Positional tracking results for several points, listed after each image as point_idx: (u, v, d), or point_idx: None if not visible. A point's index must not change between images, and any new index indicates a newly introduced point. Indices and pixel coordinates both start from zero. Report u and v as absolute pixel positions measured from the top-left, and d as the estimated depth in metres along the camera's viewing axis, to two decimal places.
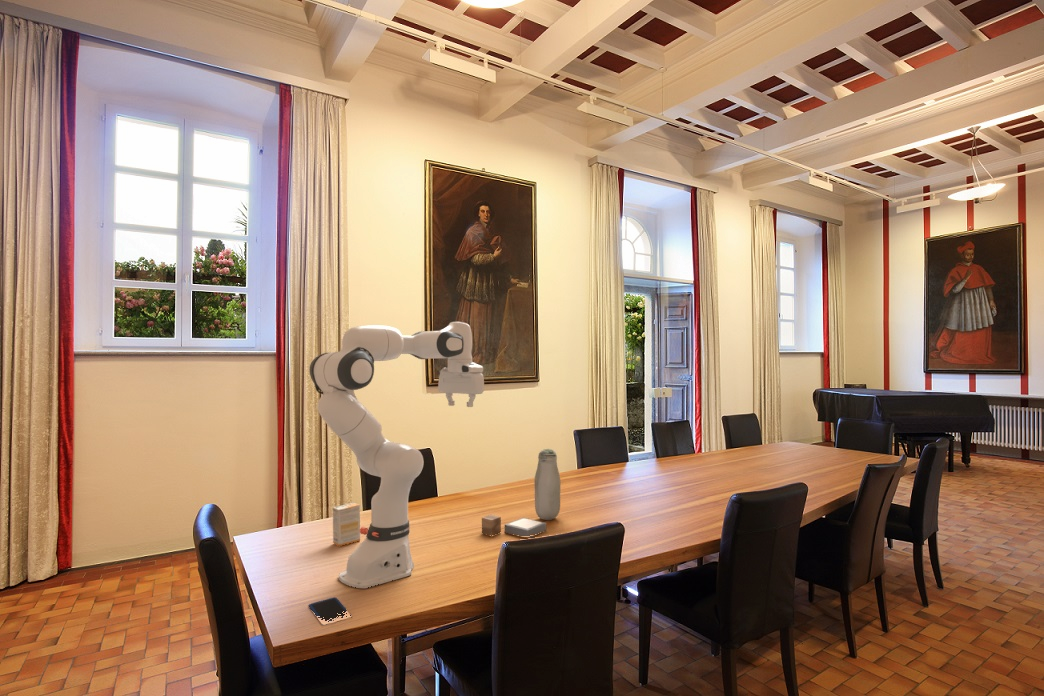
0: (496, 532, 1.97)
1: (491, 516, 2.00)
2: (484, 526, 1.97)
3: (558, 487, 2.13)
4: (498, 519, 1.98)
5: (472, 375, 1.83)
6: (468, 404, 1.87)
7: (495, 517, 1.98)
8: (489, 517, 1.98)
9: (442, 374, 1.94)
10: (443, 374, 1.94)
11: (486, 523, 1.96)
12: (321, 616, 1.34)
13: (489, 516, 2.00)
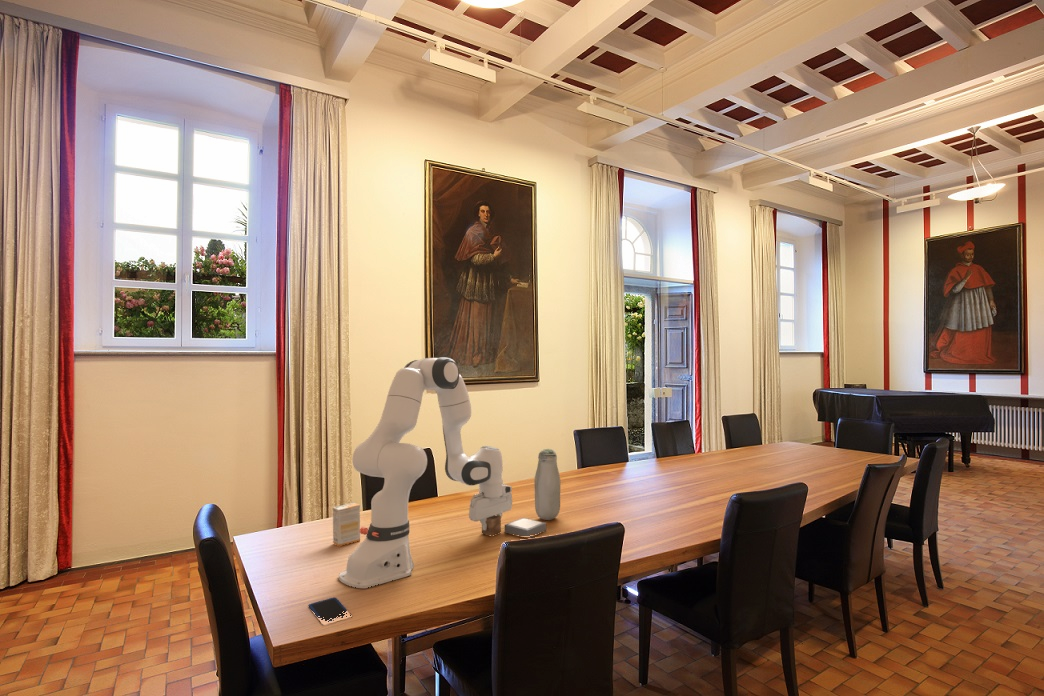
0: (496, 532, 1.97)
1: None
2: None
3: (558, 487, 2.13)
4: (498, 519, 1.98)
5: (510, 493, 2.04)
6: None
7: (495, 517, 1.98)
8: (489, 517, 1.98)
9: (480, 501, 1.92)
10: (481, 501, 1.92)
11: (486, 522, 1.96)
12: (321, 616, 1.34)
13: None
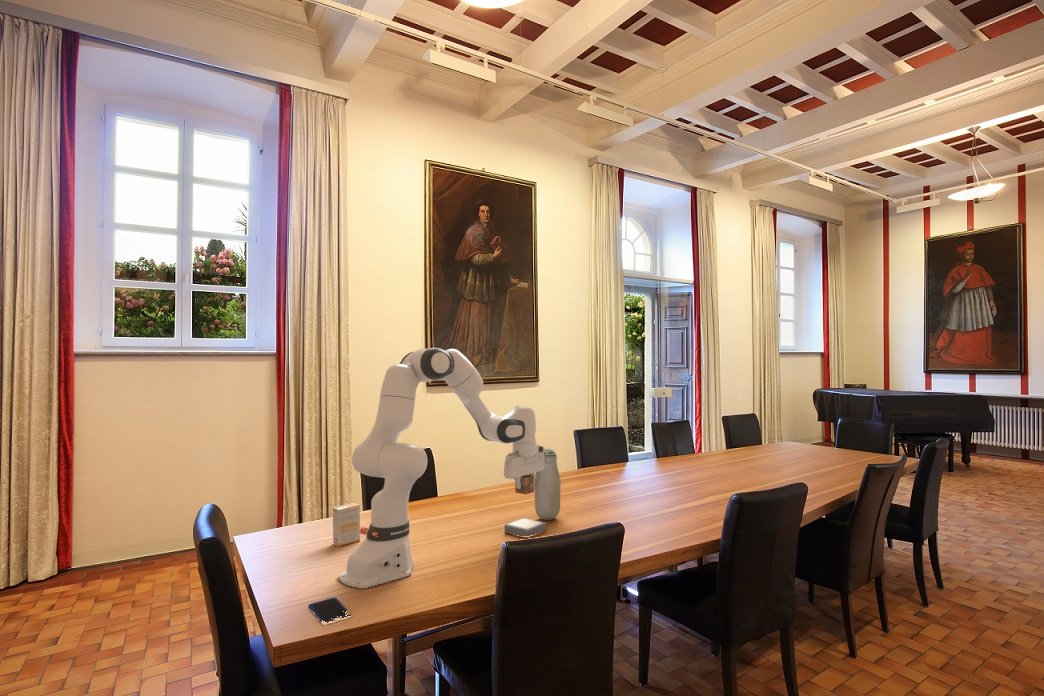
0: (530, 490, 1.98)
1: (524, 475, 2.01)
2: None
3: (558, 487, 2.13)
4: (531, 478, 1.99)
5: (543, 454, 2.05)
6: None
7: (528, 476, 2.00)
8: (522, 476, 1.99)
9: (515, 459, 1.93)
10: (516, 459, 1.94)
11: (520, 481, 1.98)
12: (321, 616, 1.34)
13: None
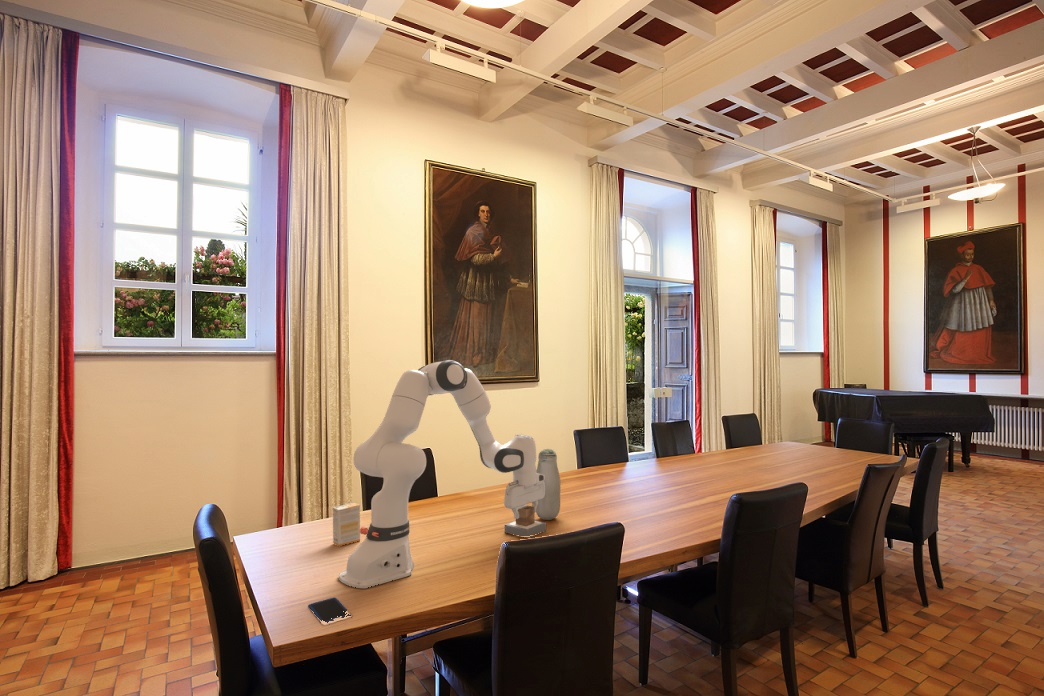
0: (530, 522, 1.98)
1: (525, 506, 2.01)
2: None
3: (558, 487, 2.13)
4: (532, 509, 1.99)
5: (543, 482, 2.05)
6: (535, 510, 2.03)
7: (529, 507, 1.99)
8: (523, 507, 1.99)
9: (515, 489, 1.93)
10: (516, 489, 1.94)
11: (521, 512, 1.98)
12: (321, 616, 1.34)
13: (523, 506, 2.01)
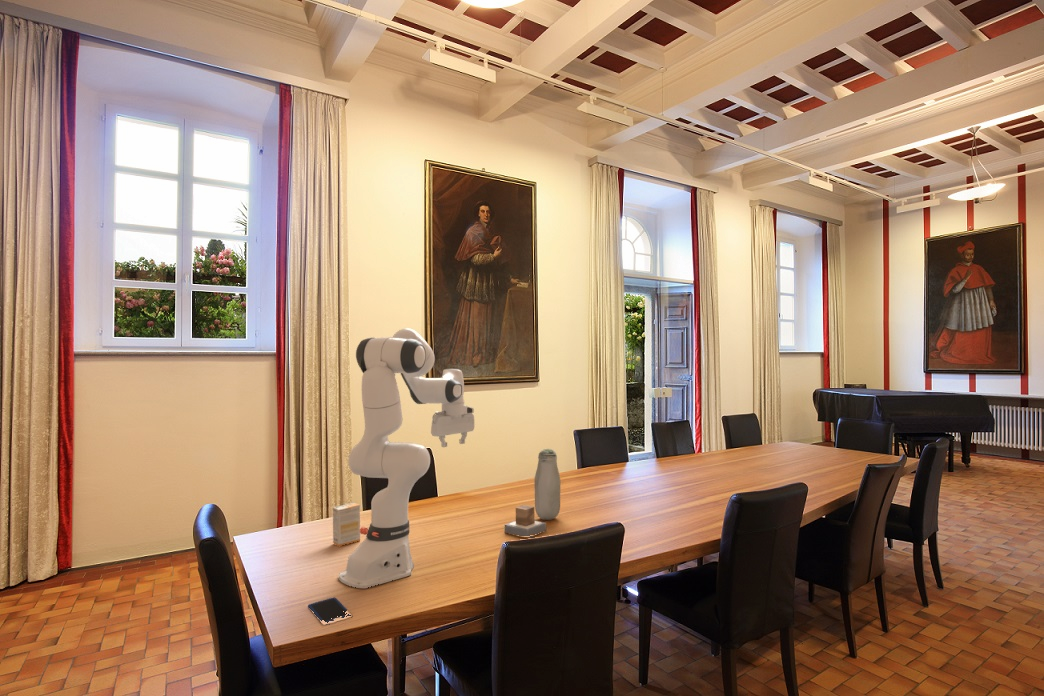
0: (530, 522, 1.98)
1: (525, 506, 2.01)
2: (518, 516, 1.98)
3: (558, 487, 2.13)
4: (532, 509, 1.99)
5: (472, 415, 2.14)
6: (464, 441, 2.12)
7: (529, 507, 1.99)
8: (523, 507, 1.99)
9: (442, 418, 2.02)
10: (443, 418, 2.03)
11: (521, 512, 1.98)
12: (321, 616, 1.34)
13: (523, 506, 2.01)
